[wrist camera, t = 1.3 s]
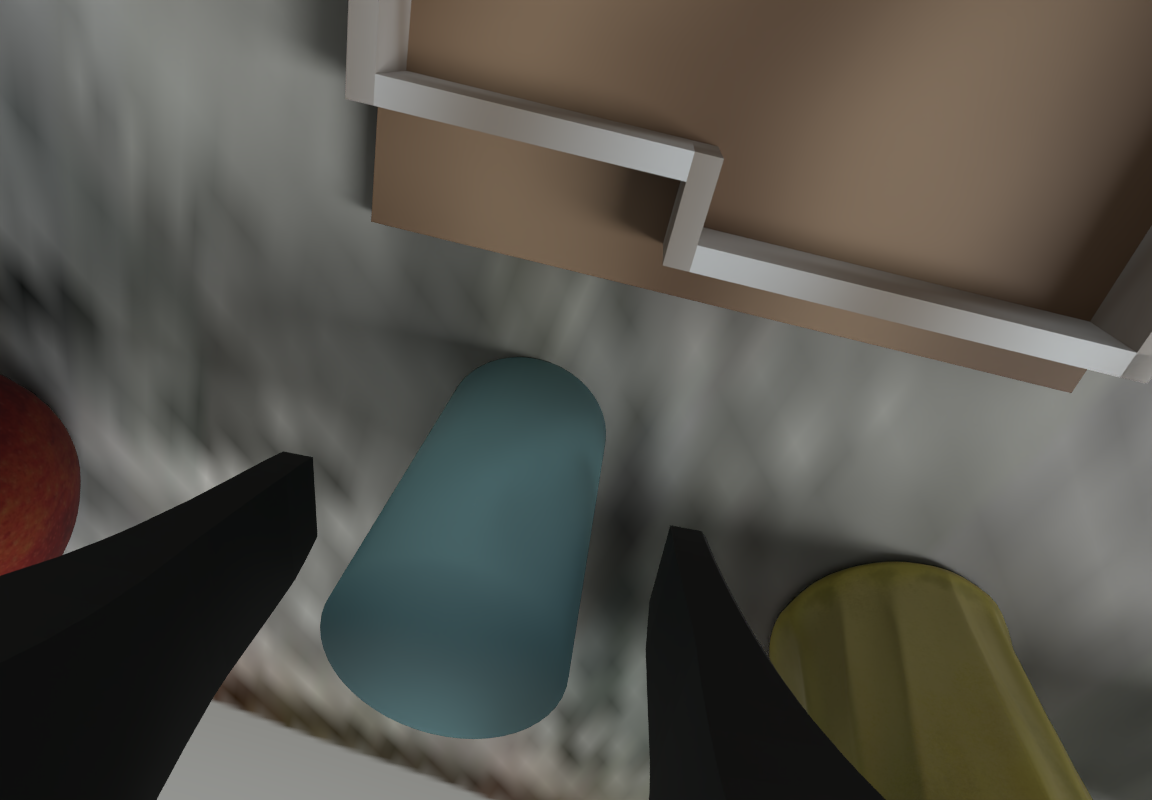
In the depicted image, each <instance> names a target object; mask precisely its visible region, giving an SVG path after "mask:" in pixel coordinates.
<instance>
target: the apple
mask: <svg viewBox="0 0 1152 800" xmlns="http://www.w3.org/2000/svg"><path fill="white" fill-rule="evenodd" d="M79 500H80V466H79V461H78V456H77V453H76V449H75V446H74V444H73V442H72V439H71V437H70V435H69V433H68V431H67V429H66V428H65V426H64V425H63V423H62V422H61V420H60V419H59V418H58V417H57V416H56V415H55V413H54V412H53V411H52V410H51V409H50V408H49V406H47V405H46V404H45V403H44V402H43V401H41V400H40V399H39V398H38V397H37V396H36V395H35V394H33V393H32V392H30V391H29V390H27V389H25V388H24V387H22V386H20V385H19V384H17V383H15V382H14V381H12V380H10V379H8V378H7V377H5V376H3V375H1V374H0V576H1V575H4V574H7V573H10V572H13V571H16V570H19V569H22V568H25V567H28V566H32V565H35V564H38V563H41V562H44V561H47V560H50V559H53V558H56V557H59V556H62V555H63V553H64V550H65V548H66V546H67V544H68V542H69V540H70V537H71V535H72V532H73V528H74V525H75V522H76V518H77V514H78V507H79Z"/></svg>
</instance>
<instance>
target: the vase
mask: <svg viewBox="0 0 1152 800" xmlns="http://www.w3.org/2000/svg"><path fill="white" fill-rule="evenodd" d="M769 657H770V661H771V663H772V664H773V666H774V667H775V669H776V670H777V672H778V673H779V675H780V676H781V678H782V679H783V681H784V682H785V683H786V685H787V686H788V688H789V689H790V690H791V692H792V693H793V694H794V696H795V697H796V699H797V700H798V701H799V703H800V704H801V705H802V706H803V708H804V709H805V710H806V712H807V713H808V714H809V715H810V717H811V718H812V719H813V721H814V722H815V723H816V724H817V725H818V726H819V727H820V729H821V730H822V731H823V732H824V733H825V734H826V736H827V737H828V738H829V739H830V740H831V741H832V743H833V744H834V745H835V746H836V747H837V748H838V750H839V751H840V752H841V753H842V754H843V755H844V757H845V758H846V759H847V760H848V761H849V762H850V763H851V764H852V765H853V766H854V767H855V768H856V770H857V771H858V772H859V773H860V774H861V775H862V776H863V777H864V778H865V779H866V780H867V781H868V782H869V783H870V784H871V785H872V786H873V787H874V788H875V789H876V790H877V791H878V792H879V793H880V794H881V795H882V796H883V797H884V798H885V799H886V800H1093V799H1092V797H1091V796H1090V794H1089V792H1088V790H1087V789H1086V787H1085V785H1084V783H1083V782H1082V780H1081V778H1080V776H1079V775H1078V773H1077V771H1076V769H1075V768H1074V766H1073V764H1072V762H1071V760H1070V758H1069V756H1068V754H1067V752H1066V750H1065V748H1064V746H1063V744H1062V742H1061V741H1060V739H1059V737H1058V735H1057V733H1056V731H1055V730H1054V728H1053V726H1052V724H1051V723H1050V721H1049V719H1048V717H1047V715H1046V713H1045V711H1044V709H1043V707H1042V705H1041V703H1040V701H1039V699H1038V697H1037V695H1036V693H1035V691H1034V689H1033V687H1032V685H1031V683H1030V681H1029V680H1028V678H1027V676H1026V674H1025V672H1024V670H1023V668H1022V666H1021V664H1020V662H1019V660H1018V658H1017V656H1016V654H1015V652H1014V650H1013V646H1012V642H1011V639H1010V635H1009V631H1008V628H1007V626H1006V623H1005V621H1004V618H1003V615H1002V613H1001V611H1000V610H999V608H998V606H997V604H996V603H995V602H994V601H993V600H992V598H991V597H990V596H989V595H988V594H986V593H985V592H984V591H982V590H981V589H980V588H979V587H977V586H976V585H974V584H973V583H971V582H970V581H968V580H966V579H965V578H963V577H961V576H959V575H957V574H955V573H953V572H951V571H948V570H945V569H942V568H939V567H935V566H930V565H925V564H919V563H911V562H896V561H894V562H879V563H870V564H864V565H859V566H855V567H851V568H848V569H844V570H841V571H838V572H835V573H833V574H830V575H828V576H826V577H824V578H822V579H820V580H818V581H817V582H815V583H813V584H812V585H810V586H809V587H808V588H806V589H805V590H804V591H802V592H801V593H800V594H799V595H798V596H797V597H796V598H795V599H794V600H793V601H792V602H791V603H790V604H789V605H788V606H787V607H786V608H785V609H784V610H783V611H782V612H781V614H780V615H779V617H778V618H777V620H776V623H775V625H774V627H773V630H772V634H771V638H770V646H769Z"/></svg>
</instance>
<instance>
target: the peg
mask: <svg viewBox="0 0 1152 800" xmlns="http://www.w3.org/2000/svg"><path fill="white" fill-rule="evenodd" d="M605 441H606V428H605V421H604V417H603V413H602V411H601V409H600V406H599V404H598V402H597V401H596V399H595V397H594V395H593V394H592V393H591V392H590V390H589V389H588V388H587V387H586V386H585V385H584V384H583V383H582V382H581V381H580V380H579V379H578V378H576V377H575V376H574V375H573V374H571V373H570V372H568V371H566V370H565V369H563V368H561V367H559V366H557V365H554V364H552V363H549V362H546V361H543V360H539V359H533V358H525V357H512V358H504V359H499V360H495V361H492V362H489V363H487V364H484V365H482V366H480V367H478V368H477V369H475V370H474V371H473V372H471V373H470V374H469V375H468V376H467V377H465V378H464V379H463V381H462V382H461V383H460V384H459V386H458V387H457V389H456V390H455V392H454V394H453V395H452V397H451V399H450V400H449V402H448V403H447V405H446V407H445V408H444V410H443V412H442V413H441V415H440V417H439V418H438V420H437V421H436V423H435V425H434V426H433V428H432V430H431V431H430V433H429V435H428V436H427V438H426V439H425V441H424V443H423V444H422V446H421V448H420V449H419V451H418V452H417V454H416V456H415V457H414V459H413V461H412V462H411V464H410V466H409V467H408V469H407V470H406V472H405V474H404V475H403V477H402V479H401V480H400V482H399V484H398V485H397V487H396V488H395V490H394V492H393V493H392V495H391V497H390V498H389V500H388V502H387V503H386V505H385V506H384V508H383V510H382V511H381V513H380V515H379V516H378V518H377V520H376V521H375V523H374V524H373V526H372V528H371V529H370V531H369V533H368V534H367V536H366V537H365V539H364V541H363V542H362V544H361V546H360V547H359V549H358V551H357V552H356V554H355V555H354V557H353V559H352V560H351V562H350V564H349V565H348V567H347V569H346V570H345V572H344V573H343V575H342V577H341V578H340V580H339V582H338V583H337V585H336V587H335V588H334V590H333V591H332V593H331V595H330V596H329V598H328V600H327V602H326V604H325V606H324V609H323V612H322V616H321V624H320V631H321V640H322V644H323V648H324V651H325V653H326V656H327V658H328V661H329V662H330V664H331V666H332V667H333V669H334V671H335V672H336V674H337V675H338V676H339V678H340V679H341V680H342V682H343V683H344V684H345V685H346V686H347V687H348V688H349V689H350V690H351V691H352V692H353V693H354V694H355V695H356V696H358V697H359V698H360V699H361V700H362V701H364V702H365V703H366V704H368V705H369V706H371V707H372V708H373V709H375V710H376V711H378V712H380V713H382V714H383V715H385V716H387V717H389V718H391V719H393V720H395V721H397V722H399V723H401V724H404V725H406V726H409V727H411V728H414V729H417V730H420V731H424V732H427V733H431V734H436V735H440V736H445V737H453V738H464V739H482V738H493V737H500V736H505V735H509V734H513V733H516V732H519V731H521V730H524V729H527V728H529V727H531V726H532V725H534V724H536V723H538V722H539V721H541V720H542V719H543V718H545V717H546V716H547V715H548V714H549V713H550V712H551V711H552V710H553V709H554V708H555V707H556V706H557V704H558V703H559V701H560V700H561V698H562V696H563V694H564V692H565V689H566V687H567V682H568V677H569V671H570V664H571V658H572V652H573V645H574V639H575V632H576V626H577V620H578V613H579V607H580V600H581V594H582V588H583V581H584V575H585V569H586V562H587V556H588V549H589V543H590V537H591V530H592V524H593V517H594V511H595V505H596V498H597V492H598V486H599V479H600V473H601V466H602V460H603V454H604V447H605Z"/></svg>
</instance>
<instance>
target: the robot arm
mask: <svg viewBox="0 0 1152 800" xmlns="http://www.w3.org/2000/svg"><path fill="white" fill-rule="evenodd" d="M316 538H317V521H316V504H315V487H314V470H313V457H309V456H303V455H298V454H293V453H288V452H281V453H279V454H277V455H275V456H273V457H271V458H269V459H267V460H265V461H263V462H261V463H259V464H257V465H255V466H254V467H252V468H250V469H248V470H246V471H244V472H242V473H240V474H238V475H237V476H235V477H233V478H231V479H229V480H227V481H225V482H223V483H221V484H220V485H218V486H216V487H214V488H212V489H210V490H208V491H206V492H204V493H202V494H200V495H198V496H196V497H194V498H193V499H191V500H189V501H187V502H185V503H183V504H180V505H178V506H176V507H174V508H172V509H170V510H168V511H166V512H164V513H161V514H159V515H157V516H155V517H153V518H151V519H149V520H147V521H144V522H142V523H140V524H138V525H136V526H134V527H132V528H129V529H127V530H125V531H122V532H120V533H118V534H115V535H113V536H111V537H108V538H106V539H103V540H101V541H98V542H96V543H93V544H91V545H88V546H85V547H83V548H80V549H78V550H75V551H72V552H70V553H67V554H64V555H62V556H59V557H56V558H53V559H50V560H47V561H44V562H41V563H38V564H35V565H32V566H28V567H25V568H22V569H19V570H16V571H13V572H10V573H7V574H4V575H1V576H0V800H157V797H158V796H159V794H160V792H161V790H162V788H163V786H164V785H165V783H166V781H167V779H168V777H169V775H170V774H171V772H172V770H173V768H174V766H175V764H176V762H177V761H178V759H179V757H180V755H181V753H182V751H183V749H184V748H185V746H186V744H187V742H188V741H189V739H190V737H191V735H192V734H193V732H194V730H195V728H196V726H197V725H198V723H199V721H200V719H201V718H202V716H203V714H204V713H205V711H206V709H207V707H208V705H209V704H210V702H211V700H212V699H213V697H214V695H215V694H216V692H217V691H218V689H219V688H220V686H221V685H222V683H223V681H224V680H225V678H226V677H227V675H228V674H229V672H230V671H231V670H232V668H233V667H234V665H235V664H236V663H237V661H238V660H239V658H240V657H241V656H242V654H243V653H244V651H245V650H246V649H247V647H248V646H249V644H250V643H251V642H252V640H253V639H254V637H255V636H256V635H257V633H258V632H259V630H260V629H261V628H262V626H263V625H264V623H265V622H266V621H267V619H268V618H269V616H270V615H271V613H272V612H273V611H274V609H275V608H276V606H277V605H278V603H279V602H280V601H281V599H282V598H283V596H284V595H285V593H286V592H287V591H288V589H289V588H290V586H291V585H292V583H293V582H294V580H295V578H296V577H297V575H298V573H299V571H300V569H301V567H302V566H303V564H304V562H305V560H306V558H307V556H308V554H309V552H310V550H311V548H312V546H313V544H314V542H315V540H316ZM646 669H647V697H648V722H649V748H650V794H649V800H886V799H885V798H884V797H883V796H882V795H881V794H880V793H879V792H878V791H877V790H876V789H875V788H874V787H873V786H872V785H871V784H870V783H869V782H868V781H867V780H866V779H865V778H864V777H863V776H862V775H861V774H860V773H859V772H858V771H857V770H856V768H855V767H854V766H853V765H852V764H851V763H850V762H849V761H848V760H847V759H846V758H845V757H844V755H843V754H842V753H841V752H840V751H839V750H838V748H837V747H836V746H835V745H834V744H833V743H832V741H831V740H830V739H829V738H828V737H827V736H826V734H825V733H824V732H823V731H822V730H821V729H820V727H819V726H818V725H817V724H816V723H815V722H814V721H813V719H812V718H811V717H810V715H809V714H808V713H807V712H806V710H805V709H804V708H803V706H802V705H801V704H800V703H799V701H798V700H797V699H796V697H795V696H794V694H793V693H792V692H791V690H790V689H789V688H788V686H787V685H786V683H785V682H784V681H783V679H782V678H781V676H780V675H779V673H778V672H777V670H776V669H775V667H774V666H773V664H772V663H771V661H770V660H769V658H768V657H767V655H766V653H765V652H764V650H763V648H762V647H761V645H760V644H759V642H758V640H757V639H756V637H755V635H754V634H753V632H752V630H751V629H750V627H749V625H748V623H747V622H746V620H745V618H744V616H743V614H742V612H741V611H740V609H739V607H738V605H737V603H736V601H735V599H734V598H733V596H732V594H731V592H730V590H729V588H728V586H727V584H726V582H725V580H724V578H723V576H722V574H721V571H720V569H719V567H718V565H717V563H716V561H715V558H714V556H713V554H712V552H711V549H710V547H709V545H708V542H707V540H706V537H705V536H704V534H703V533H702V531H697V530H692V529H687V528H681V527H676V526H671V525H670V529H669V533H668V536H667V540H666V544H665V547H664V551H663V554H662V558H661V562H660V565H659V569H658V573H657V576H656V580H655V584H654V587H653V591H652V595H651V598H650V603H649V615H648V627H647V641H646Z"/></svg>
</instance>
